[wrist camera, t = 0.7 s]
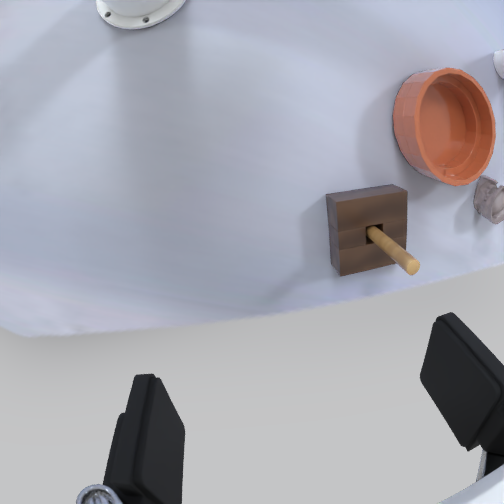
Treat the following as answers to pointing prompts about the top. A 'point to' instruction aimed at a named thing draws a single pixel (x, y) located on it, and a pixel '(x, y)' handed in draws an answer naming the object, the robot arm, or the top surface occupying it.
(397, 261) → the light wooden dowel
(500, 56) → the dixie cup
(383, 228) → the holder
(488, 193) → the dental mold
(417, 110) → the mixing bowl
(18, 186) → the top surface
